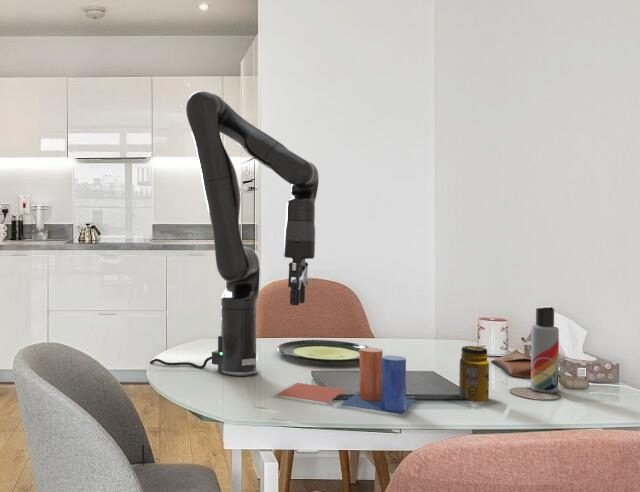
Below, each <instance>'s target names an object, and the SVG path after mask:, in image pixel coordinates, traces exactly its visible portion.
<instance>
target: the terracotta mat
mask: <svg viewBox="0 0 640 492" xmlns="http://www.w3.org/2000/svg"><path fill="white" fill-rule="evenodd" d="M345 391H346V389H345V388H343V389H342V388H336V387H328V386H323V385H315V384H309V383H301V382H296V383H295V384H293V385H291V386H290V387H288V388H286V389H284V390H282V391H281V392H279V393H277V394H276V396H281V397H288V398H294V399H301V400H308V401H315V402H320V403H325V404H327V403H329V402H330V401H332V400H334V399H335V398H336V397H338V396H339V395H341V394H343V393H344V392H345Z"/></svg>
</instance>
